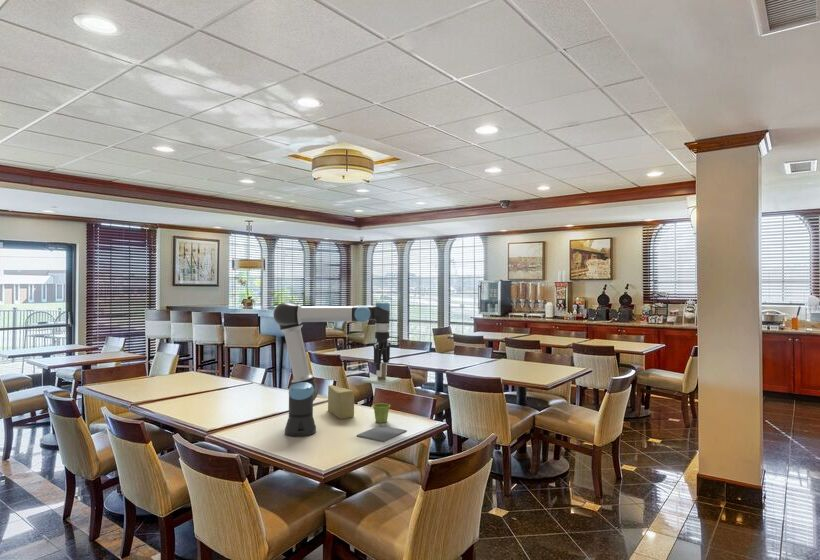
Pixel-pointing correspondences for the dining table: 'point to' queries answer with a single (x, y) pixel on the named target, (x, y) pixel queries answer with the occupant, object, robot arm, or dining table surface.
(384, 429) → the mat
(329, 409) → the cheese
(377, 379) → the lid
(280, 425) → the dining table surface
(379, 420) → the plant pot
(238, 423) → the dining table surface
